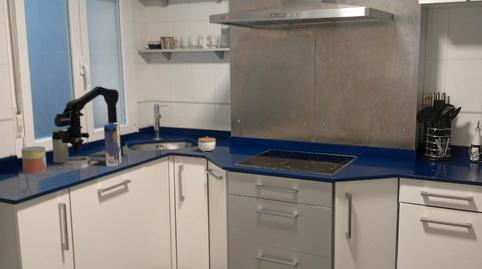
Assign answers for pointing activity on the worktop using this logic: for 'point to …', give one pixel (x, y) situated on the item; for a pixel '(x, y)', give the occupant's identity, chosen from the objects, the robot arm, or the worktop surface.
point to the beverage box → (112, 144)
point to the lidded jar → (206, 143)
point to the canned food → (34, 160)
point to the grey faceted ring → (77, 163)
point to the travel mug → (59, 147)
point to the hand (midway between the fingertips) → (76, 153)
